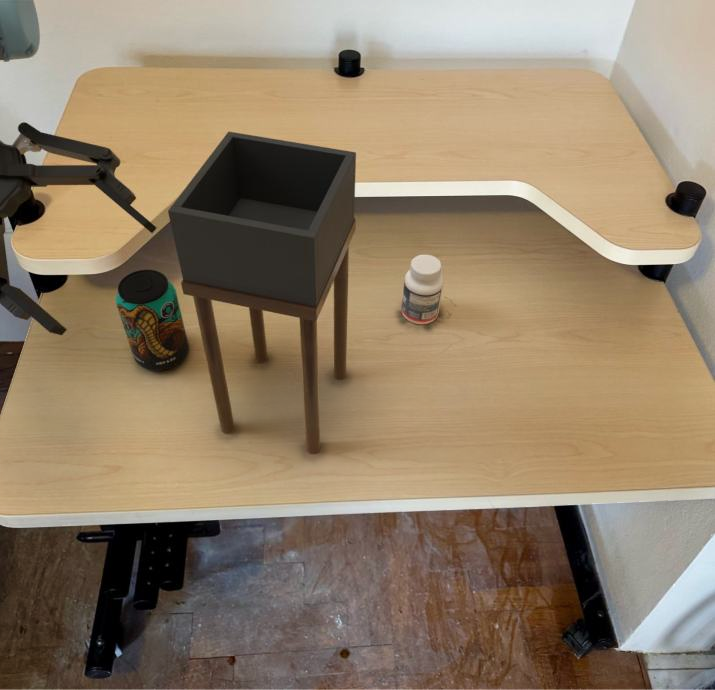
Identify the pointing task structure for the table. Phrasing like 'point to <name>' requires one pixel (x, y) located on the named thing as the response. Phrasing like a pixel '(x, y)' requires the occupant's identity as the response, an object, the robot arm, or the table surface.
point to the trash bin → (266, 217)
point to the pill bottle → (422, 290)
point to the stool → (256, 308)
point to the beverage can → (152, 319)
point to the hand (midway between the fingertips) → (105, 279)
